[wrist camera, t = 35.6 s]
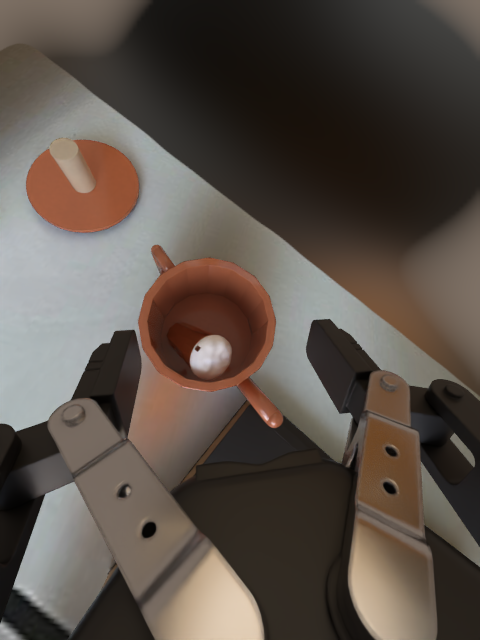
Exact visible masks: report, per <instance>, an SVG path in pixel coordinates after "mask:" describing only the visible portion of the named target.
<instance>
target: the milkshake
mask: <svg viewBox="0 0 480 640" xmlns="http://www.w3.org/2000/svg"><path fill="white" fill-rule="evenodd" d="M167 339H168V343H169V345H170V346H171V347H172V348H173V349H174V350H175V351H176V353H177V354H178V355H179V356H180V357H181V358H182V359H183V360H184V362H185V363H186V364H187V365H188V367H189V368H190V369H191V370H192V372H193V373H194V374H195V375H196V376H197V377H199V378H201V379H204V380H212V379H214V378H216V377H218V376H220V375H221V374H223V373H224V372H225V370H226V369H227V367H228V366H229V364H230V361H231V355H232V348H231V345H230V343H229V342H228V341H227V340H226V339H225V338H224V337H222V336H219V335H216V334H213V333H210V332H207V331H205V330H202V329H200V328H197V327H195V326H192V325H190V324H187V323H185V322H181V323H175V324H174V325H173V326H171V327H170V328H169V330H168V333H167Z"/></svg>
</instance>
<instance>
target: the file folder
mask: <svg viewBox="0 0 480 640" xmlns="http://www.w3.org/2000/svg"><path fill="white" fill-rule="evenodd" d="M315 448H318V451H319V453H320V455H321V458H325V459H329V460H333V459H332V458H331V457H329V456H328V455H327V454H326V453H325V452H324V451H323V450H322V449H320V448H319V447H318V446H317V445H316V444H315V443H314V442H313V441H311V440H310V439H309V438H308V437H307V436H306V435H305V434H304V433H303V432H301V431H300V430H299V429H298V428H297V427H296V426H295V425H294V424H292V423H291V422H290V421H289V420H288V419H287V418H286V417H285V416H283V423H282V425H281V426H280V427H278V428H271V427H269V426H268V425H267V424H266V423H265V421H264V420H263V419H262V418H261V416H260V415H259V414H258V413H257V411H256V410H255V409H254V408H253V406H252V405H251V404H250V403H249V401H248V400H246V402H245V403H244V404H243V405H242V406H241V408H240V409H239V410H238V411H237V413H236V414H235V415H234V416H233V418H232V419H231V420H230V421H229V423H228V424H227V425H226V426H225V428H224V429H223V430H222V431H221V433H220V434H219V435H218V436H217V438H216V439H215V440H214V441H213V443H212V444H211V445H210V446H209V448H208V449H207V450H206V451H205V453H204V454H203V455H202V456H201V458H200V459H199V460H198V461H197V463H196V464H195V465H194V466H193V468H192V469H191V470H190V471H189V473H188V474H187V475H186V476H185V478H184V479H183V480H182V481H181V483H182V482H184V481H185V480H187V479H189V478H191V477H193V476H195V475H196V465H201V464H208V463H215V462H222V461H234V462H242V463H250V464H263V463H266V462H268V461H270V460H273V459H275V458H277V457H279V456H282V455H284V454H286V453H288V452H293V451H301V450H308V449H315ZM333 461H334V460H333ZM181 483H180V484H181ZM117 566H118V565H117V563H116V564H115V565H114V566H113V568H112V569H111V570H110V571H109V573H108V576H107V579H106V582H107V581H108V579H109V578H110V577H111V575H112V574H113V572H114V571H115V569H116V568H117ZM106 582H105V583H104V585H105V584H106ZM104 585H103V587H104ZM103 587H102V588H103Z"/></svg>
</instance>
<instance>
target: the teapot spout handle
mask: <svg viewBox="0 0 480 640" xmlns="http://www.w3.org/2000/svg"><path fill="white" fill-rule="evenodd" d="M151 252H152V255H153V258H154V260H155V263H156V265H157V268H158V271H159V273H160V274H163V273H165V272H166V271H168V270H170V269H171V268H173V267H175V265H174V264H173V263H172V261H171V260H170V258H169V257H168V256H167V254H166V253H165V251H164V250H163V248H162V247H161V246H159V245H154V246H153V247H152V248H151ZM237 388H238V389H239V390H240V391H241V393H242V394H243V395H244V396H245V398H246V399H247V400H248V401H249V403H250V404H251V405H252V406H253V408H254V409H255V410H256V411H257V413H258V414H259V415H260V416H261V418H262V419H263V420H264V421H265V423H266V424H267V425H268V426H269V427H271V428H278V427H280V426H281V425H282V423H283V415H282V413H281V412H280V411H279V410H278V409H277V407H276V406H275V405H274V404H273V403H272V402H271V401H270V400H269V398H268V397H267V396H266V395H265V394H264V393H263V392H262V391H261V389H260V388H259V387H258V386H257V385H256V384H255V383H254V382H253V380H252V379H251V378H250V377H248V378H247V379H245V380H244V381H243V382H241V383H240V384H239V385H237Z"/></svg>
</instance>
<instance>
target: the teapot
mask: <svg viewBox="0 0 480 640" xmlns="http://www.w3.org/2000/svg"><path fill="white" fill-rule="evenodd" d="M138 321H139V322H138V324H139V330H140V336H141V342H142V348H143V350H144V352H145V353H146V355H147V356H148V358H149V359H150V361H151V362H152V364H153V365H154V367H155V368H156V370H157V371H158V372H159V373H160V374H162V375H163V376H165V377H167V378H168V379H170V380H171V381H173V382H174V383H176V384H178V385H179V386H181V387H183V388H188V389H195V390H201V391H207V392H210V391H211V392H213V391H217V390H221V389H225V388H229V387H233V386H237V385H239V384H240V383H241V382H243V381H244V380H245V379H247V378H248V377H249V376H251V375H252V374H253V373H255V372H256V371H257V370H259V369H260V367H261V366H262V364H263V362H264V360H265V359H266V357H267V355H268V354H269V352H270V350H271V348H272V346H273V341H274V333H275V325H276V319H275V315H274V311H273V307H272V304H271V300H270V296H269V295H268V293H267V292H266V291H265V289H264V288H263V287H262V285H261V284H260V283H259V281H258V280H257V279H256V277H254V276H253V275H252V274H250V273H249V272H247V271H245V270H244V269H242V268H241V267H239V266H238V265H236V264H235V263H232V262H228V261H223V260H218V259H214V258H203V259H196V260H190V261H184V262H182V263H180V264H178V265H177V266H175V267H173V268H171V269H170V270H168V271H166V272H165V273H163V274H161V275H160V276H159V278H158V279H157V280H156V281H155V283H154V284H153V285H152V287H151V288H150V289H149V291H148V292H147V293H146V294H145V296H144V300H143V304H142V308H141V312H140V316H139V320H138ZM181 322H185V323H187V324H190V325H192V326H195V327H197V328H200V329H202V330H205V331H207V332H210V333H213V334H216V335H219V336H222V337H224V338H225V339H226V340H227V341H228V342H229V343H230V345H231V348H232V355H231V361H230V364H229V366H228V367H227V369H226V370H225V372H224V373H223V374H221V375H220V376H218V377H216V378H214V379H212V380H204V379H201V378H199V377H197V376H196V375H195V374H194V373H193V372H192V370H191V369H190V368H189V367H188V365H187V364H186V363H185V362H184V360H183V359H182V358H181V357H180V356H179V355H178V354H177V353H176V351H175V350H174V349H173V348H172V347H171V346H170V345H169V343H168V339H167V333H168V330H169V328H170V327H171V326H173V325H174V324H175V323H181Z"/></svg>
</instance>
